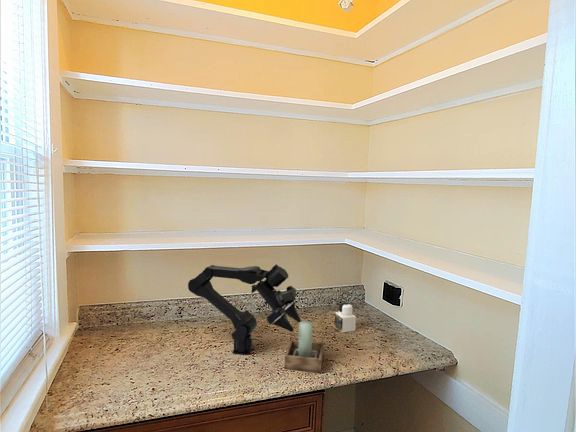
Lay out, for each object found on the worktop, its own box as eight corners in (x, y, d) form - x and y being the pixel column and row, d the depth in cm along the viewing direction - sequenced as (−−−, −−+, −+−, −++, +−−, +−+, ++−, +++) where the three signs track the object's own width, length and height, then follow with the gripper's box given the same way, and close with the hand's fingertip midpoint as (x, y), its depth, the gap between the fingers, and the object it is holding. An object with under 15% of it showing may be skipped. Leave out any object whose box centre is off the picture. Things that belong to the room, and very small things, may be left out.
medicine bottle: (334, 326, 164) (335, 302, 163) (347, 324, 166) (348, 300, 165) (341, 333, 157) (342, 307, 156) (355, 331, 160) (356, 305, 159)
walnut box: (284, 369, 126) (284, 355, 126) (290, 351, 139) (290, 339, 139) (320, 373, 124) (321, 359, 123) (323, 355, 137) (323, 343, 136)
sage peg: (295, 359, 131) (296, 323, 130) (303, 354, 135) (304, 319, 134) (306, 364, 128) (307, 327, 127) (313, 358, 132) (315, 323, 130)
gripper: (275, 288, 122) (305, 323, 120) (291, 275, 140) (317, 305, 138) (254, 307, 126) (283, 341, 123) (272, 291, 143) (297, 321, 141)
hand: (296, 326), depth 131 cm, fingers open, 9 cm apart
